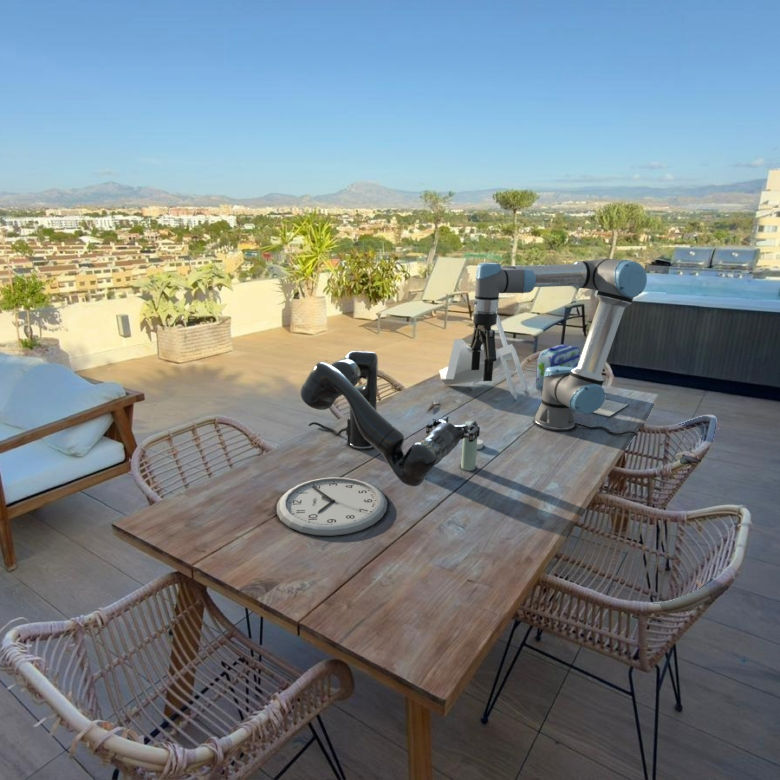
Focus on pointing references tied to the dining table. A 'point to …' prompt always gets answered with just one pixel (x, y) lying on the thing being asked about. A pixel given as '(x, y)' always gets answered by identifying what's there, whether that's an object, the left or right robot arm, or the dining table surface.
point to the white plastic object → (481, 363)
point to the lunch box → (556, 360)
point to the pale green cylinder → (468, 452)
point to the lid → (479, 444)
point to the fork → (434, 403)
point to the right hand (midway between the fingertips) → (481, 375)
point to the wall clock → (331, 506)
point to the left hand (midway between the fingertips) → (460, 421)
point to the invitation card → (609, 408)
